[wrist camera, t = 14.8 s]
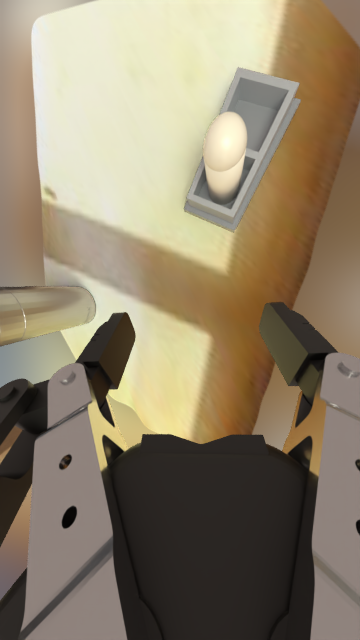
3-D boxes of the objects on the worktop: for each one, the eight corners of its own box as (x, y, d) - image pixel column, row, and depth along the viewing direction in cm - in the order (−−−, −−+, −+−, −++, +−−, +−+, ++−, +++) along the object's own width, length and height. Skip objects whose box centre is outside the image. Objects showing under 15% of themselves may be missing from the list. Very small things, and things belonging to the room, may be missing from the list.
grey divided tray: (185, 211, 28) (179, 201, 25) (233, 89, 23) (235, 57, 20) (234, 232, 27) (235, 225, 23) (297, 107, 22) (310, 75, 18)
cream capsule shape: (203, 198, 26) (192, 145, 16) (218, 165, 25) (215, 87, 15) (229, 209, 25) (233, 162, 16) (246, 176, 24) (261, 103, 14)
